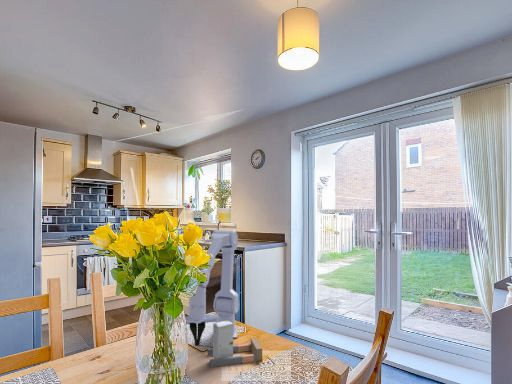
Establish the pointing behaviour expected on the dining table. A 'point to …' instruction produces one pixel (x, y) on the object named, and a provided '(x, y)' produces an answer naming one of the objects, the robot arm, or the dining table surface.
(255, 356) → the guide channel
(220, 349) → the skincare box
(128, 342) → the dining table surface
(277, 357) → the dining table surface
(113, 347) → the dining table surface
